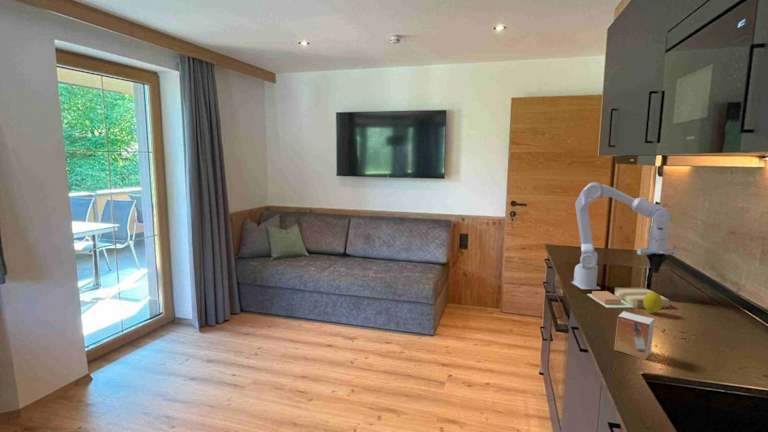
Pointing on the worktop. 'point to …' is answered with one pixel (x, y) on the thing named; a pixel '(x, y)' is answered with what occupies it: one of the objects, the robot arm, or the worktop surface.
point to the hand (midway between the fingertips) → (654, 272)
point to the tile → (606, 297)
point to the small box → (634, 335)
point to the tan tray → (637, 296)
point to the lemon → (652, 302)
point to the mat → (622, 305)
